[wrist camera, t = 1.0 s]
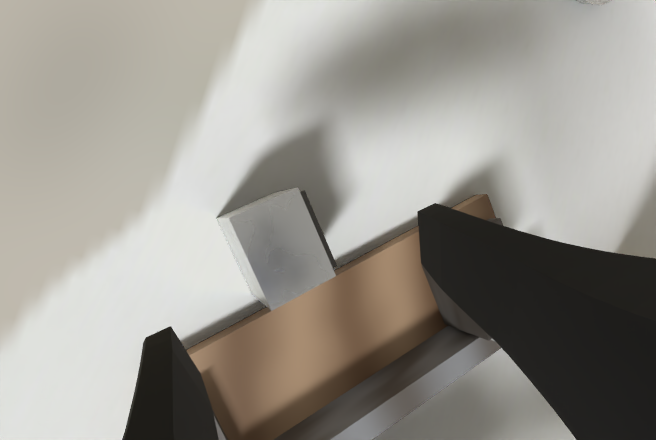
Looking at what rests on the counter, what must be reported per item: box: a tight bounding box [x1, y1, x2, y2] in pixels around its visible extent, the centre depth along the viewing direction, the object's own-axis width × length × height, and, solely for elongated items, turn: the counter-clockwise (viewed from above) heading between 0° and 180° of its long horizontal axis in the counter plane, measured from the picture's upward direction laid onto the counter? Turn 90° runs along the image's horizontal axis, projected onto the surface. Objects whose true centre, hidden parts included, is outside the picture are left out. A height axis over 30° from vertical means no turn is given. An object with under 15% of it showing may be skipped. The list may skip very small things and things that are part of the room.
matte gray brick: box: [216, 187, 337, 311], centre depth 23 cm, size 5×4×5 cm
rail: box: [186, 194, 503, 440], centre depth 24 cm, size 24×8×6 cm, turn 115°
